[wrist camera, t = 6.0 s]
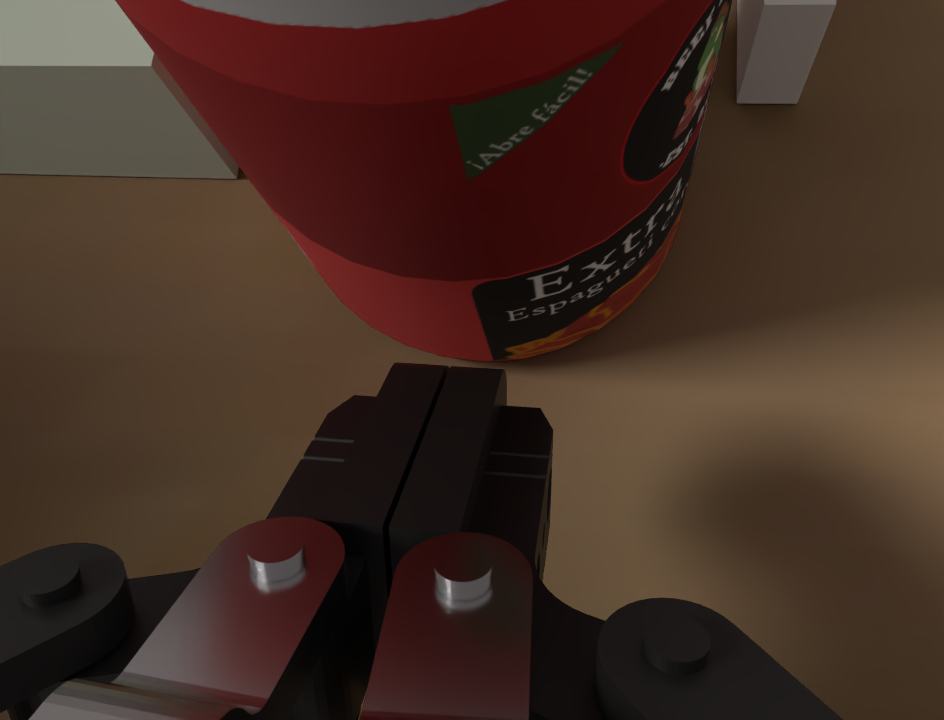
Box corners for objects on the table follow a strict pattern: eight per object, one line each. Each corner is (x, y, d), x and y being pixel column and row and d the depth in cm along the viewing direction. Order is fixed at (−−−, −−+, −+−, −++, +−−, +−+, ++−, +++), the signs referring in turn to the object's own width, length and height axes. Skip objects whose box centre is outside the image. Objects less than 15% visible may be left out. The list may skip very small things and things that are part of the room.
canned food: (566, 446, 17) (531, 126, 6) (234, 261, 19) (-212, -215, 8) (751, 127, 18) (974, -563, 8) (424, -13, 20) (252, -707, 10)
